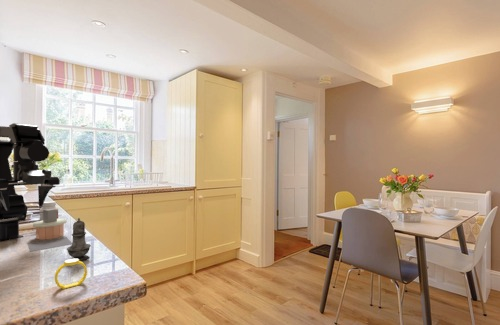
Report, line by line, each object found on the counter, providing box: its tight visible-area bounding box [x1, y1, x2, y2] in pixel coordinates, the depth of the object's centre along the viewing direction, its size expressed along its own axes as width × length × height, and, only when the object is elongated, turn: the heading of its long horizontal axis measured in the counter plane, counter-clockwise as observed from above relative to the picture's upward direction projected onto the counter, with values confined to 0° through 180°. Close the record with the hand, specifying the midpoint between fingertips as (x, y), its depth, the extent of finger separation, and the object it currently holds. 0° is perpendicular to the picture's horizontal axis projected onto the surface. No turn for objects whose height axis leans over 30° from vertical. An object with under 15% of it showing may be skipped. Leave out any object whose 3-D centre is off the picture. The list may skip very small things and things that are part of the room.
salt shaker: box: [66, 217, 92, 263], centre depth 75 cm, size 6×6×12 cm
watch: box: [54, 258, 88, 290], centre depth 59 cm, size 6×3×6 cm, turn 130°
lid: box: [32, 209, 67, 228], centre depth 97 cm, size 10×10×5 cm
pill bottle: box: [39, 200, 59, 221], centre depth 110 cm, size 6×6×11 cm
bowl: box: [35, 223, 65, 241], centre depth 97 cm, size 8×8×5 cm
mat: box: [27, 236, 73, 253], centre depth 88 cm, size 11×11×1 cm
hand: (24, 208), depth 88 cm, fingers open, 9 cm apart
